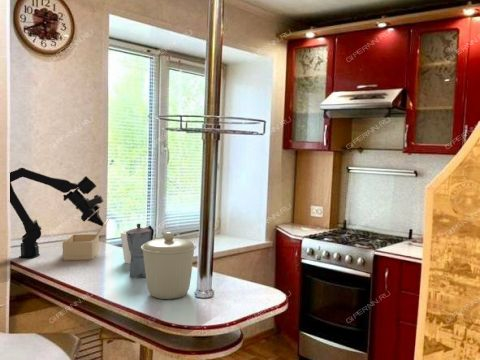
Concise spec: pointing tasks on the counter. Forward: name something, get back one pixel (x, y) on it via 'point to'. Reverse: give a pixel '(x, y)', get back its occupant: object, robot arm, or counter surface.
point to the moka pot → (138, 249)
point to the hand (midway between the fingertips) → (103, 225)
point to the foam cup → (125, 247)
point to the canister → (168, 266)
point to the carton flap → (100, 229)
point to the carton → (80, 247)
